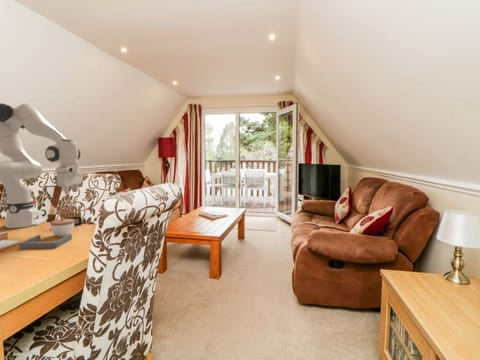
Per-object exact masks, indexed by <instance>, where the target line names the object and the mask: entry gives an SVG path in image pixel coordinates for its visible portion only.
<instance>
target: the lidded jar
mask: <svg viewBox="0 0 480 360" xmlns="http://www.w3.org/2000/svg"><path fill="white" fill-rule="evenodd" d="M64 218H65V217H64ZM64 218H61V217H60V219H55V220H52V221H50V229H51V232H52V234H53V235H55V236H56V237H58V238H64V237H65V236H67V235H69V234H72V233H73V231H74V229H75V226H74V219H64Z"/></svg>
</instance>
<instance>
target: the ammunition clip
mask: <svg viewBox="0 0 480 360" xmlns="http://www.w3.org/2000/svg"><path fill="white" fill-rule="evenodd" d="M67 207H68V208H67ZM60 209H61V210H60V219H61V218H64V219H74V227H75V226H82V225H83V220H82V212H81V205H78V206H77V205H75V206H73V205H71V207H70V206H64V207H63V206H61V208H60Z"/></svg>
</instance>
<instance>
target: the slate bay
mask: <svg viewBox="0 0 480 360" xmlns="http://www.w3.org/2000/svg"><path fill="white" fill-rule="evenodd" d="M41 238H42V237H41V234H37V235H35V236H33V237H31V238H28V239H26V240H24V241H22V242H20V243H19V250H23V249H25V250H26V249H27V250H29V249H57V248H59V247H61V246H63V245H65V244H66V243H68V242H69V241H71V240H72V239H73V235H72V233H70V234H69V235H67V236H64V237H61V238H60V239H59V240H56V241H44V242H43V241H41V240H42V239H41Z"/></svg>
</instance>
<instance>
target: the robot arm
mask: <svg viewBox="0 0 480 360" xmlns="http://www.w3.org/2000/svg"><path fill="white" fill-rule="evenodd" d="M20 129H26V131H28V133H30V134H32V135H34V136H36V137H37V136H39V137H41V138H42V137H43V138H47V139H49V140H51V141H53V142H54V143H55V144H53V145H49V146H48V147H46V149H45V151H44V153H45V158H46V159H47V161H49V162H50V163H60V165H59V166H57V167H56V168H55V173H56V175H55V177H56V184H57V187H59V188H61V187H62V189H63V191H64V195H70V190H69V186H73V188H72V192H73V193H76V192H78V189H79V184H82V183H83V176H82V171H81V170H80V164H79V160H80V159H81V151H80V149H79V147H78V143H77V141H75V140H73V139H68V138H67V137H66V136H65V135H64V134H63V133H62V132H61V131H59V129H57V128H56V127H55V126H54V125H53V124H51V123H50V122H48V120H47V119H45V117H44V116H43V114H41V112H40V111H39V110H38V109H36V107H35V106H33V105H32V104H28V103H23V104H22V103H21V104H19V105H13V104H7V103H0V154H2V155H3V156H5V157H7V158H8V159H11V160H3V161H0V183H1V185H2V186H3V187H4V189H5V191H6V196H7V203H6V209H7V211H6V212H5V215H6V216H5V223H4V225H3V226H4V227H5V228H6V229H19V228H26V227H32V226H33V227H34V226H39V225H41V224H42V223H44V222H46V221H47V220H48V219H47V218H46V217H43V215H42V211H41V210H39V209H38V208H36V207H35V206H34V205H37V202H36V201H35V200H32V194H31V193H32V192H31V189H30V188H29V187H28V186H27V185H24V184H22V183H21V181H20V180H25V179H26V180H27V179H28V180H30V179H34V178H38V177H40V176H41V175H42V173H43V166H42V164H41V163H40V162H38V161H36V160H35V159H33V158H32V157H31V156H30V155H29V154H28V152H27V151H26V149H25V148H24V145H23V142H22V138H21V135H20V131H19V130H20Z"/></svg>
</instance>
